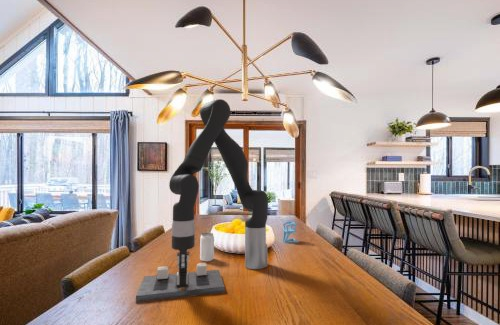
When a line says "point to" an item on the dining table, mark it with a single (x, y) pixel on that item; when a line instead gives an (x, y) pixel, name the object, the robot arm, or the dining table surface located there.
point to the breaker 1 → (162, 272)
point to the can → (206, 247)
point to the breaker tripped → (178, 278)
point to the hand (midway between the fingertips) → (182, 285)
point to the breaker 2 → (201, 269)
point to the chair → (289, 232)
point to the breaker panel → (169, 288)
